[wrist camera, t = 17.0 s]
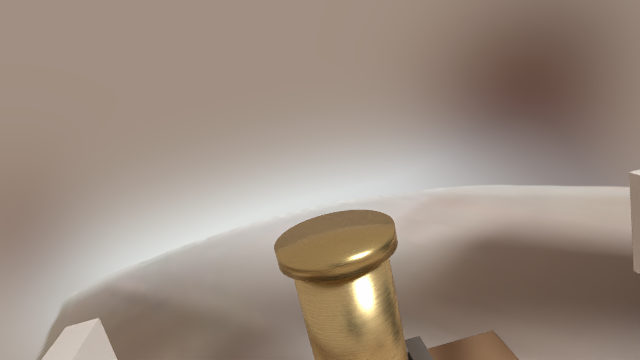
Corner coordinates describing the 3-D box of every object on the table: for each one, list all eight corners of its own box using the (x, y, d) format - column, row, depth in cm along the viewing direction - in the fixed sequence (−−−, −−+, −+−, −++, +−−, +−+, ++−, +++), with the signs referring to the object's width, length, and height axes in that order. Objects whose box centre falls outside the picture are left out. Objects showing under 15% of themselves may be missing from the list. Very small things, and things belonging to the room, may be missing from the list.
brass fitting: (413, 392, 30) (377, 201, 27) (452, 475, 24) (411, 240, 21) (322, 418, 30) (273, 227, 26) (338, 508, 24) (275, 275, 20)
